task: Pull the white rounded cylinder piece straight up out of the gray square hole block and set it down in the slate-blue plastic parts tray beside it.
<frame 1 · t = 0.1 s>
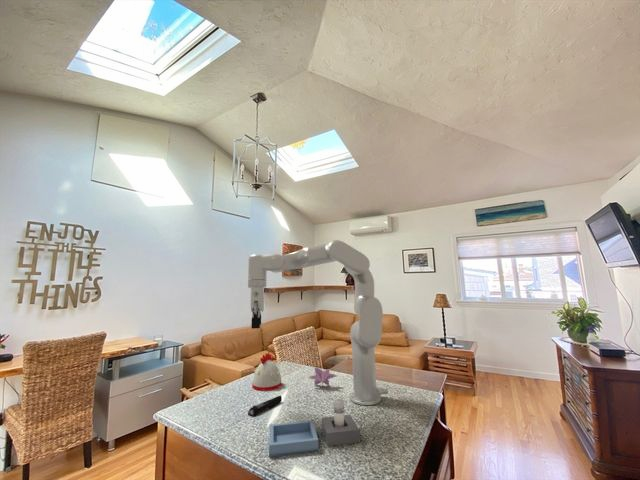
hand: (256, 326, 112), 31 cm above the kitchen island, tool pointing down, fingers open, 9 cm apart
gray square hole block: (339, 435, 87), on the kitchen island
white rounded cylinder piece: (339, 418, 87), in the gray square hole block
electric trimmer: (265, 410, 107), on the kitchen island
parts tray: (292, 442, 83), on the kitchen island
lily: (322, 388, 128), on the kitchen island
knit hat: (267, 386, 132), on the kitchen island
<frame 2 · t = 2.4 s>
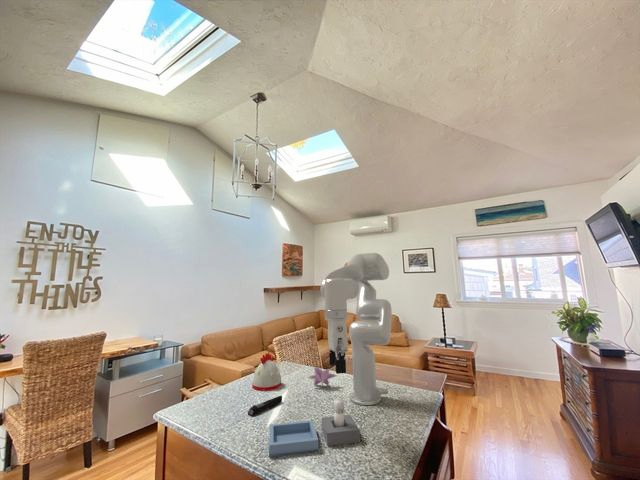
hand: (337, 368, 90), 20 cm above the kitchen island, tool pointing down, fingers open, 9 cm apart
nothing on the kitchen island moved.
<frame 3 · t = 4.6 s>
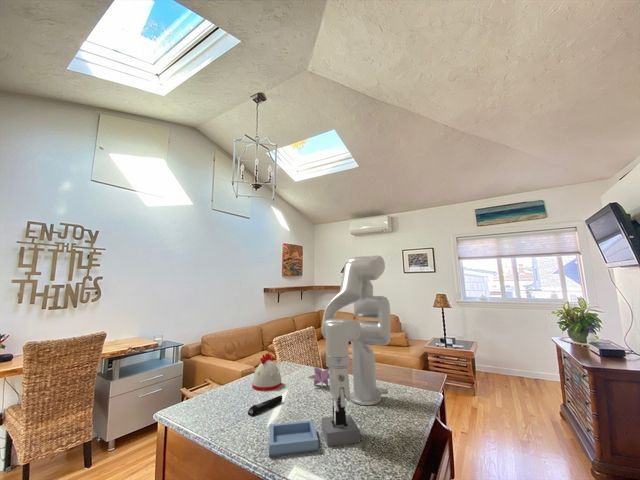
hand: (339, 420, 87), 4 cm above the kitchen island, tool pointing down, fingers closed on white rounded cylinder piece, 3 cm apart
white rounded cylinder piece: (339, 418, 87), in the gray square hole block, touching gripper
everything else where it was.
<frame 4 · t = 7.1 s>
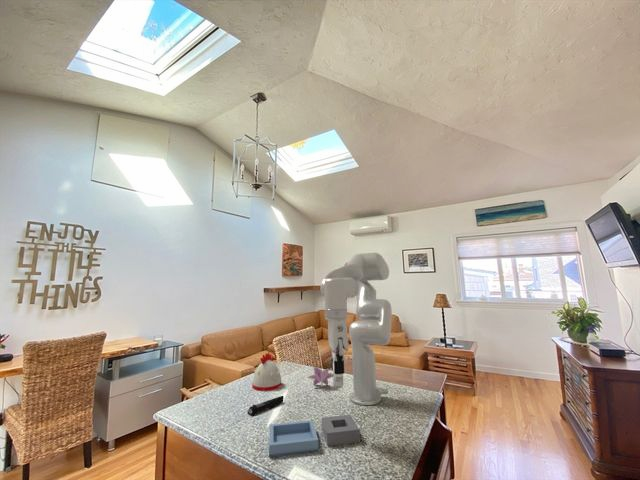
hand: (337, 371, 90), 19 cm above the kitchen island, tool pointing down, fingers closed on white rounded cylinder piece, 3 cm apart
white rounded cylinder piece: (337, 368, 90), point 20 cm above the kitchen island, touching gripper
everything else where it was.
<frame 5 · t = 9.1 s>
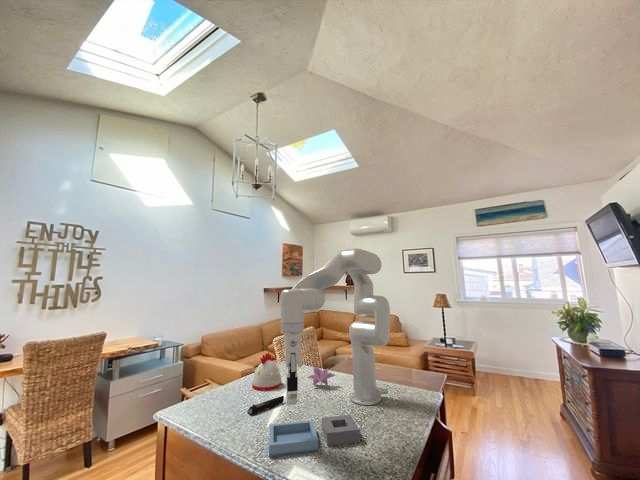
hand: (291, 388, 86), 16 cm above the kitchen island, tool pointing down, fingers closed on white rounded cylinder piece, 3 cm apart
white rounded cylinder piece: (291, 385, 86), point 16 cm above the kitchen island, touching gripper
when the fingers open (7 cm above the kitchen island, at t = 10.8 s): white rounded cylinder piece drops 2 cm, resting on parts tray.
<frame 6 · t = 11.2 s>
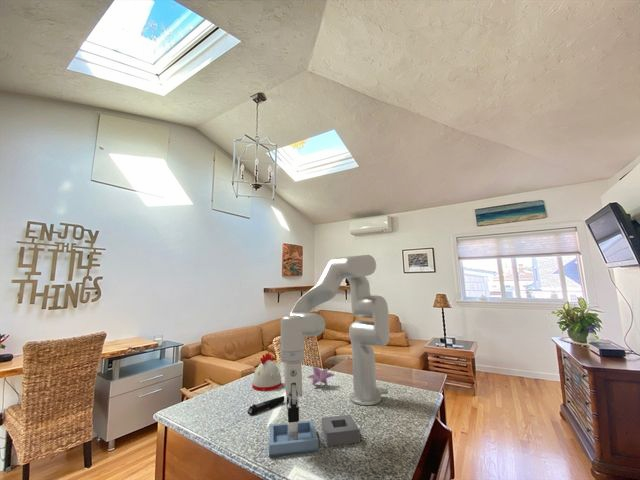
hand: (292, 414, 84), 8 cm above the kitchen island, tool pointing down, fingers open, 8 cm apart
white rounded cylinder piece: (292, 422, 84), in the parts tray, point 6 cm above the kitchen island
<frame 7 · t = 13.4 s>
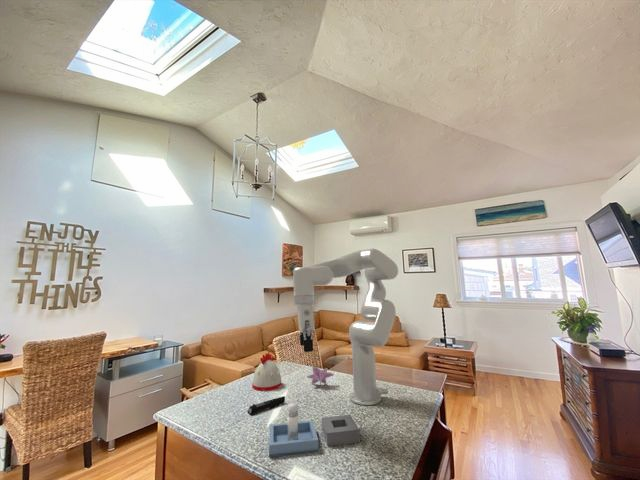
hand: (306, 348, 99), 25 cm above the kitchen island, tool pointing down, fingers open, 9 cm apart
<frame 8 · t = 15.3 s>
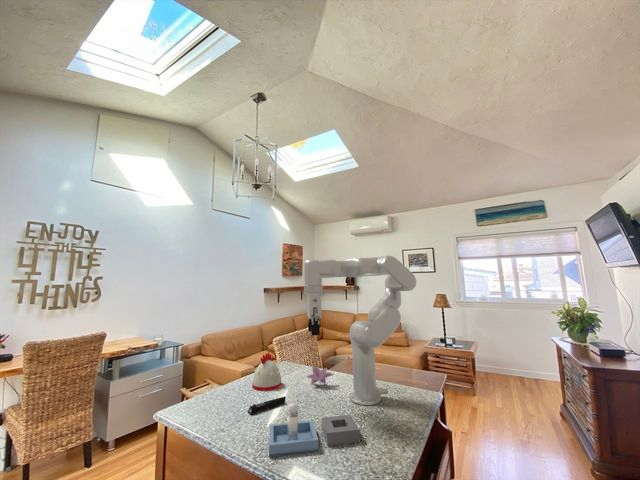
hand: (313, 333, 110), 28 cm above the kitchen island, tool pointing down, fingers open, 9 cm apart
at the end: white rounded cylinder piece inside the target area on the parts tray (0.1 cm from its centre), point 5.6 cm above the parts tray's base; white rounded cylinder piece touching parts tray; the gripper is holding nothing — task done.
